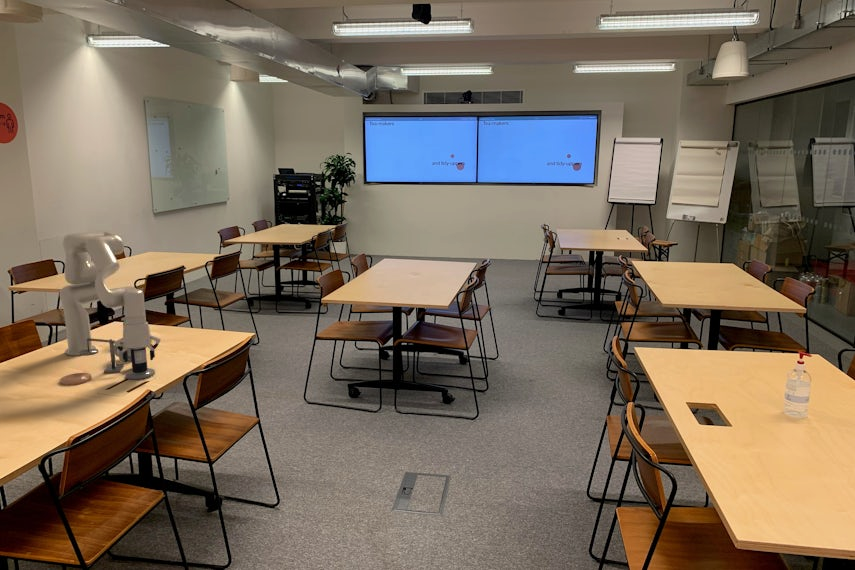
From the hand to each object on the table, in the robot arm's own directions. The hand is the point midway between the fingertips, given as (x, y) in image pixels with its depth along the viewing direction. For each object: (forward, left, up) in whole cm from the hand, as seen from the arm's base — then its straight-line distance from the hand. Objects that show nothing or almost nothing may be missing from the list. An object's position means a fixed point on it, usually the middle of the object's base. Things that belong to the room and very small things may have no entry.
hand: (139, 360), depth 254 cm
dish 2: (0, 0, -7) cm, 7 cm away
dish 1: (0, -24, -7) cm, 25 cm away
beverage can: (0, 0, -6) cm, 6 cm away
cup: (-23, -10, -7) cm, 26 cm away
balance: (-10, -12, -7) cm, 17 cm away
